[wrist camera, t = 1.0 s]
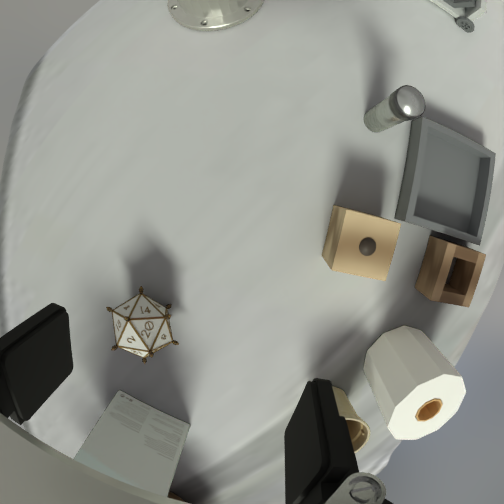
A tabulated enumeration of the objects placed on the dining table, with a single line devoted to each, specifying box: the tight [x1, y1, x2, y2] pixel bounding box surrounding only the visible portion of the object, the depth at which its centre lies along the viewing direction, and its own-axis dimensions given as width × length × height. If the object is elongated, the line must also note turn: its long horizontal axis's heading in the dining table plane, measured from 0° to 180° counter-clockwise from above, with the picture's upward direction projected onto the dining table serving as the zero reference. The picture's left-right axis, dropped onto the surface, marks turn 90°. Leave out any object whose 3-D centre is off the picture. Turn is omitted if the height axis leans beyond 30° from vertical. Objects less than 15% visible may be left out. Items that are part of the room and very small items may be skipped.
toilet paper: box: [363, 325, 466, 440], centre depth 30 cm, size 10×10×12 cm
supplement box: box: [74, 390, 191, 497], centre depth 34 cm, size 13×13×18 cm
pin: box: [364, 85, 425, 132], centre depth 25 cm, size 3×3×10 cm
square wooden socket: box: [415, 236, 486, 307], centre depth 31 cm, size 7×7×4 cm
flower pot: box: [332, 386, 370, 453], centre depth 34 cm, size 9×9×9 cm
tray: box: [395, 117, 496, 245], centre depth 29 cm, size 12×12×3 cm
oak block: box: [322, 205, 401, 281], centre depth 30 cm, size 6×6×6 cm
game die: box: [106, 286, 179, 364], centre depth 33 cm, size 9×8×10 cm
